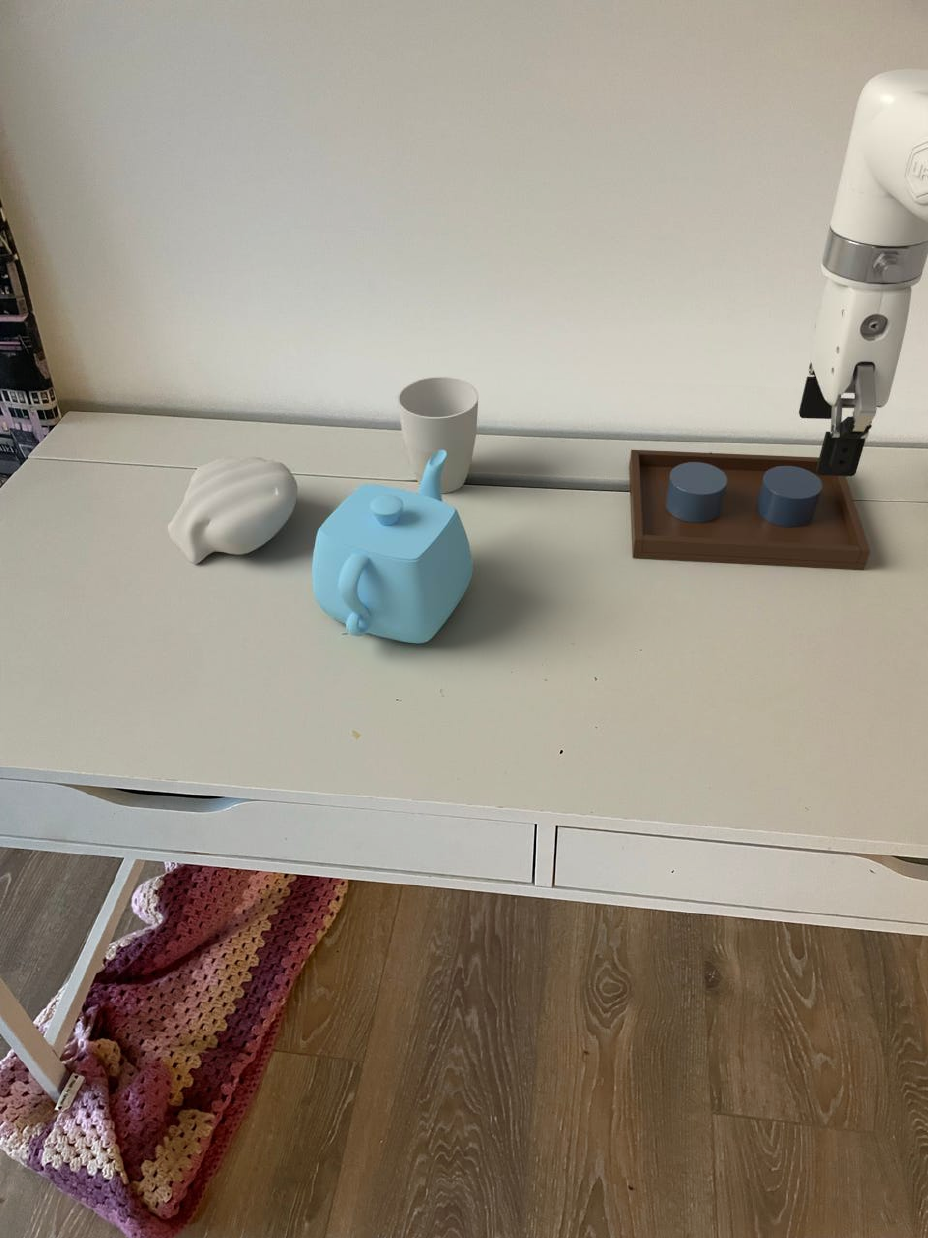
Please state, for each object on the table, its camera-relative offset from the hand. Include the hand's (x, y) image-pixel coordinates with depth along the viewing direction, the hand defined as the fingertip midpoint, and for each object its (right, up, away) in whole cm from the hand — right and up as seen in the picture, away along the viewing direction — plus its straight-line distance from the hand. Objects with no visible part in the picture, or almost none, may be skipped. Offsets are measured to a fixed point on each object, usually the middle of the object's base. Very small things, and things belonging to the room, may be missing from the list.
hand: (825, 444), depth 85 cm
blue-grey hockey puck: (0, -5, +9) cm, 11 cm away
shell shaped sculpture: (-55, -7, +10) cm, 57 cm away
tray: (-5, -5, +10) cm, 13 cm away
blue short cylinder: (-9, -4, +10) cm, 15 cm away
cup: (-35, -1, +16) cm, 39 cm away
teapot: (-38, -14, +2) cm, 41 cm away
